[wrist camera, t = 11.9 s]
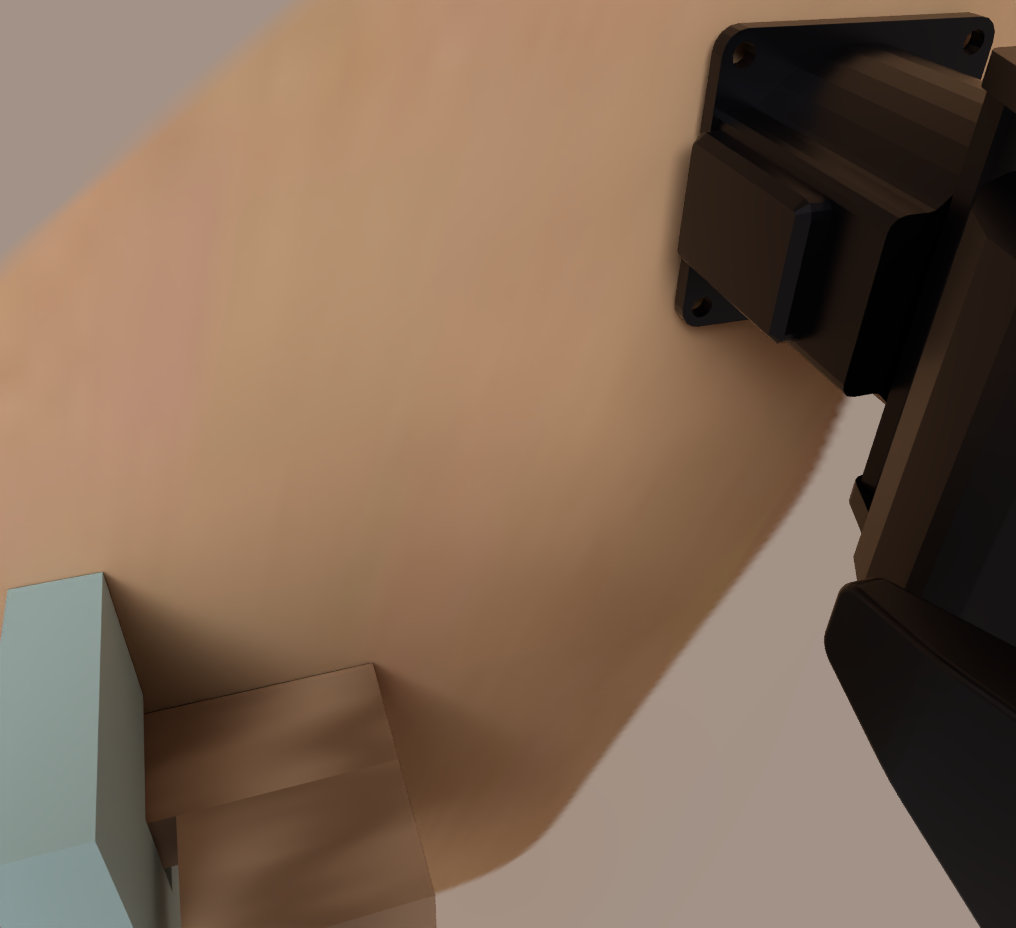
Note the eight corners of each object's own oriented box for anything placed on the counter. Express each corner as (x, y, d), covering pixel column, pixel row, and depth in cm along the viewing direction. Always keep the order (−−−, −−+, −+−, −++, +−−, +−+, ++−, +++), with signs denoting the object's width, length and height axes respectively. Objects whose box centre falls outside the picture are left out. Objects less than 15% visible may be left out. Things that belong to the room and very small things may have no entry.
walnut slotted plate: (372, 662, 26) (435, 895, 21) (376, 708, 27) (436, 938, 22) (-203, 792, 22) (-305, 1114, 17) (-169, 838, 24) (-254, 1152, 18)
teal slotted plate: (195, 855, 29) (211, 1104, 23) (127, 873, 28) (127, 1133, 23) (102, 571, 21) (94, 841, 16) (7, 589, 21) (-33, 874, 16)
